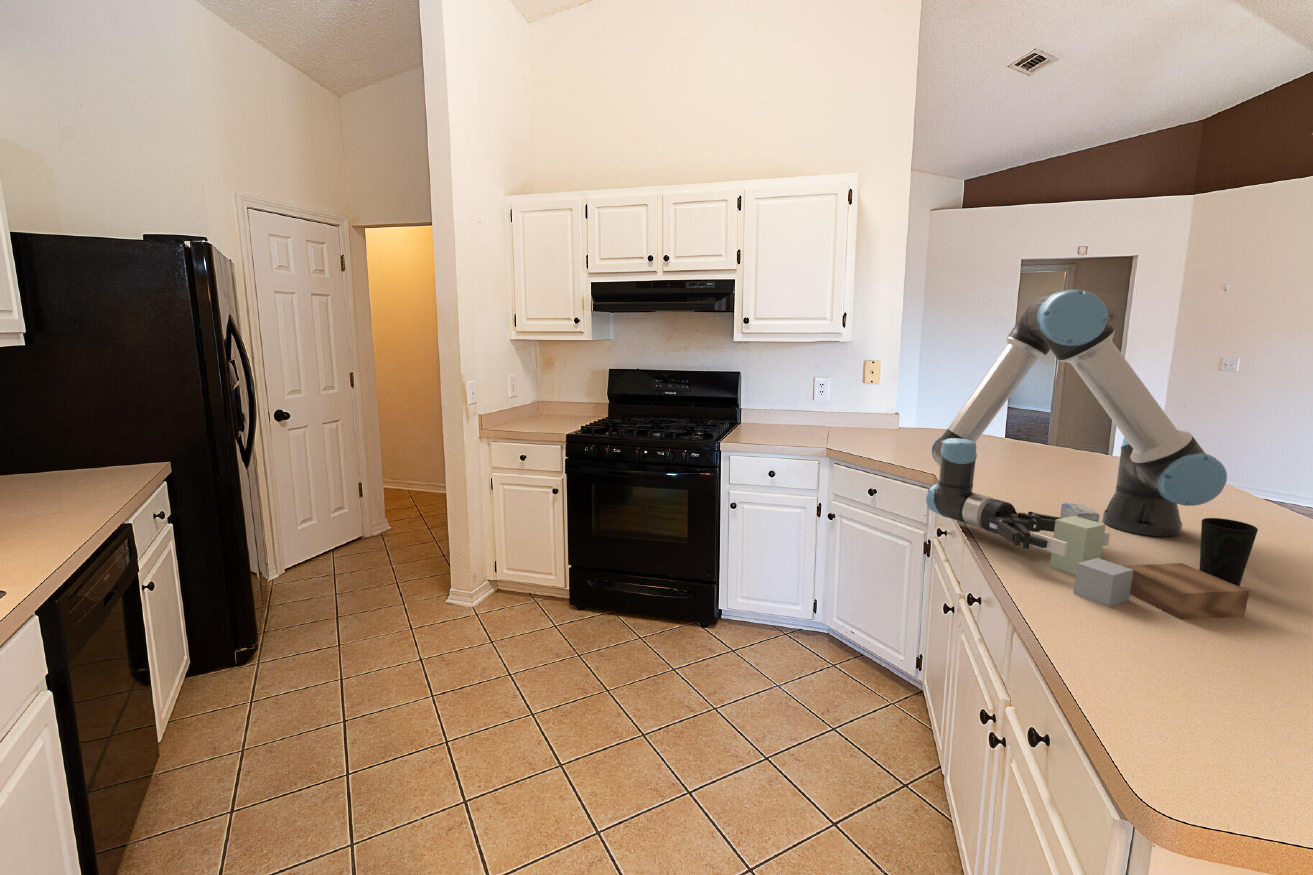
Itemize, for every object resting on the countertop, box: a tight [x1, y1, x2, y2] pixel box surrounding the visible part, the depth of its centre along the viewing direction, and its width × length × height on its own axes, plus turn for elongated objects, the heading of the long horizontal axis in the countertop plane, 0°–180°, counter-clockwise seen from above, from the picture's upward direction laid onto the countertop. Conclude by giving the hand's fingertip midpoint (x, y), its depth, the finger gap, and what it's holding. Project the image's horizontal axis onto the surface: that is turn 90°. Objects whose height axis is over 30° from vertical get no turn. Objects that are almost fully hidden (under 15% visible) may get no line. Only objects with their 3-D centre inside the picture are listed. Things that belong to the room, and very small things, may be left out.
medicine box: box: [1060, 502, 1100, 523], centre depth 135 cm, size 8×4×9 cm, turn 168°
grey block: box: [1073, 558, 1134, 608], centre depth 109 cm, size 6×6×6 cm
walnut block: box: [1122, 562, 1250, 620], centre depth 107 cm, size 12×12×5 cm
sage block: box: [1049, 516, 1107, 576], centre depth 121 cm, size 6×6×10 cm
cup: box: [1199, 517, 1259, 587], centre depth 114 cm, size 8×8×12 cm
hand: (1087, 544), depth 119 cm, fingers open, 13 cm apart
